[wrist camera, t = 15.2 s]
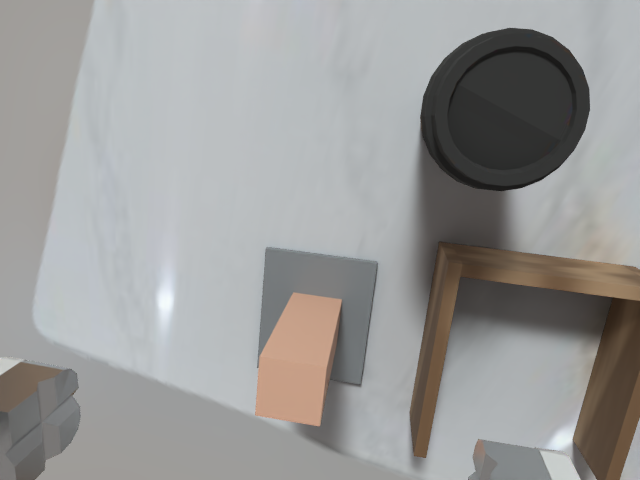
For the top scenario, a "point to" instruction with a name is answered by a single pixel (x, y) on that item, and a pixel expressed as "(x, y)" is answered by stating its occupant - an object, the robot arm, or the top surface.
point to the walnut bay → (610, 364)
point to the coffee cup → (505, 109)
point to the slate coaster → (327, 281)
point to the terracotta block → (299, 360)
